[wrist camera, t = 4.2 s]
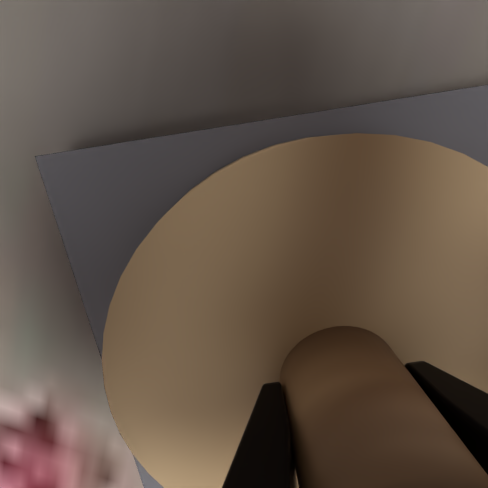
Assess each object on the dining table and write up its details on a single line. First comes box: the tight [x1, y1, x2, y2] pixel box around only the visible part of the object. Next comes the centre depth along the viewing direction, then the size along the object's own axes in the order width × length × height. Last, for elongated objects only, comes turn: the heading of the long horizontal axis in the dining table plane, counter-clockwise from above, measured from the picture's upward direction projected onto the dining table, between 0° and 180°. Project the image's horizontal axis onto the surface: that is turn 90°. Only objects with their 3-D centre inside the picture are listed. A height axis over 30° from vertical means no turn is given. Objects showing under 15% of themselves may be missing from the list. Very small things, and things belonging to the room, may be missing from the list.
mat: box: [35, 85, 488, 488], centre depth 10 cm, size 12×12×2 cm
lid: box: [102, 133, 488, 488], centre depth 7 cm, size 11×11×5 cm
